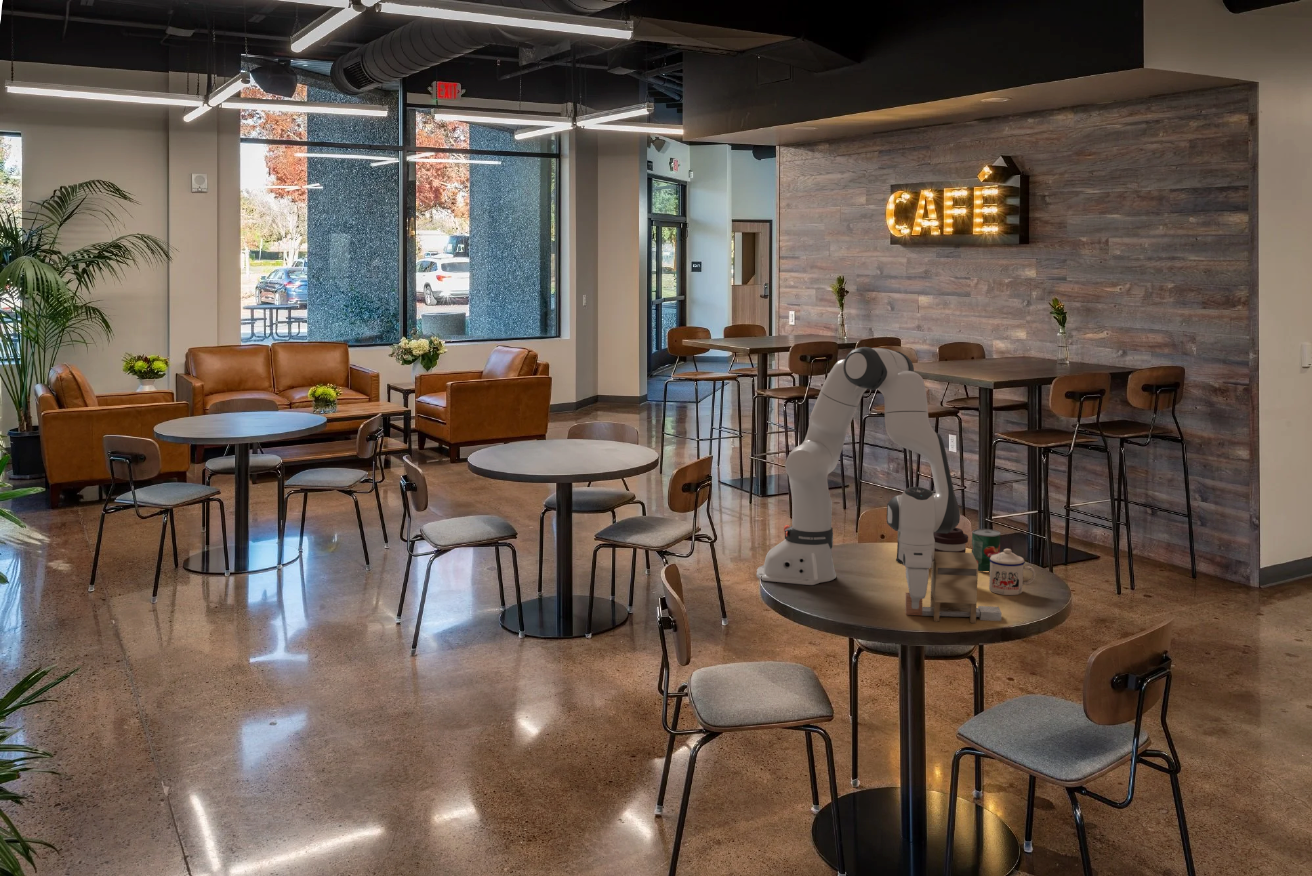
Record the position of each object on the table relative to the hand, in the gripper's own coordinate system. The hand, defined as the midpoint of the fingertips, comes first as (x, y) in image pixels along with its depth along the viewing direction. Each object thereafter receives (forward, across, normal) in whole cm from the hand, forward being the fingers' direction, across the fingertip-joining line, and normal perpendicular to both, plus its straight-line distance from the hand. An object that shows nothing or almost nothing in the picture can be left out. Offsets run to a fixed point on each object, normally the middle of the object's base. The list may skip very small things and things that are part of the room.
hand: (914, 605), depth 279 cm
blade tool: (+2, 0, +7) cm, 7 cm away
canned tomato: (+2, -46, +23) cm, 51 cm away
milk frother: (+2, -55, +3) cm, 55 cm away
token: (+2, 0, +18) cm, 19 cm away
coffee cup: (+2, -31, +11) cm, 33 cm away
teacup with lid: (+2, -24, +27) cm, 36 cm away
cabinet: (+2, 0, +10) cm, 10 cm away
